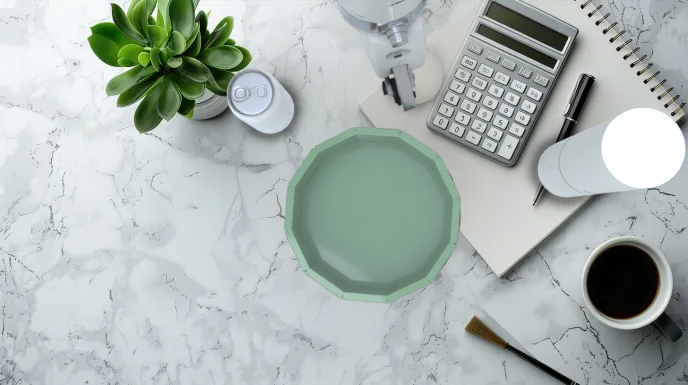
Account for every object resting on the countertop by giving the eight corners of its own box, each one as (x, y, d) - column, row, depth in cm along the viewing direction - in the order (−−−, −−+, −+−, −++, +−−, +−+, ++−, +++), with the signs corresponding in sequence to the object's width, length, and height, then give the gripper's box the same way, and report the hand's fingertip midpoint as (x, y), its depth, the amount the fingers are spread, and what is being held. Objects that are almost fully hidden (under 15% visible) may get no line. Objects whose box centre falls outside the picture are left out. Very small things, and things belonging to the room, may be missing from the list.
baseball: (449, 64, 81) (454, 50, 74) (429, 115, 81) (432, 106, 74) (402, 46, 81) (402, 30, 75) (381, 96, 81) (380, 86, 75)
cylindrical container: (588, 201, 79) (678, 194, 54) (532, 192, 79) (595, 180, 54) (597, 147, 79) (691, 114, 54) (541, 138, 80) (608, 101, 55)
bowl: (410, 109, 57) (412, 98, 52) (481, 252, 56) (490, 256, 51) (269, 178, 58) (257, 174, 53) (336, 320, 57) (330, 331, 52)
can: (246, 88, 83) (221, 67, 71) (293, 84, 82) (276, 62, 71) (249, 136, 83) (224, 122, 71) (296, 132, 82) (280, 118, 70)
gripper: (461, 74, 46) (443, 112, 63) (394, -138, 47) (395, -45, 64) (366, 104, 47) (373, 133, 64) (302, -107, 48) (326, -22, 65)
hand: (384, 44), depth 64 cm, fingers open, 9 cm apart
